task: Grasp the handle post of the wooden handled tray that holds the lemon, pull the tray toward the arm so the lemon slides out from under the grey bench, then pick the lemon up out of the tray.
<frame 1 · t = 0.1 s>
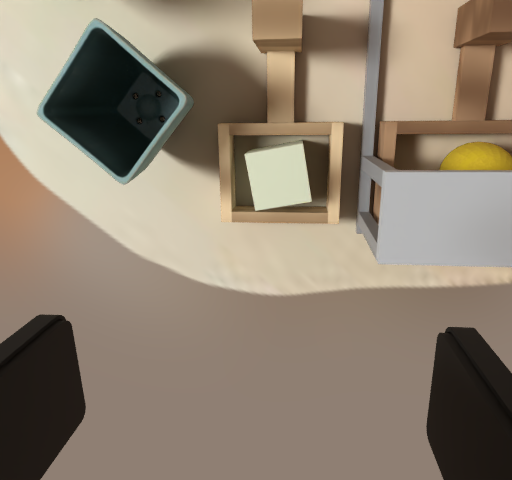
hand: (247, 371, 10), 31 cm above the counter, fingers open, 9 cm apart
flower pot: (151, 107, 39), on the counter
lemon: (457, 169, 38), resting in wooden handled tray
grey bench: (439, 189, 39), on the counter
sage cube: (280, 170, 40), resting in sled B
sled B: (279, 123, 35), point 4 cm above the counter, slide at 0.0 cm
wooden handled tray: (482, 121, 33), point 4 cm above the counter, slide at 0.0 cm
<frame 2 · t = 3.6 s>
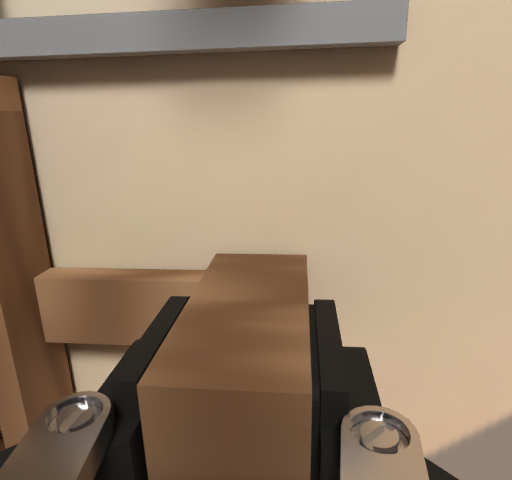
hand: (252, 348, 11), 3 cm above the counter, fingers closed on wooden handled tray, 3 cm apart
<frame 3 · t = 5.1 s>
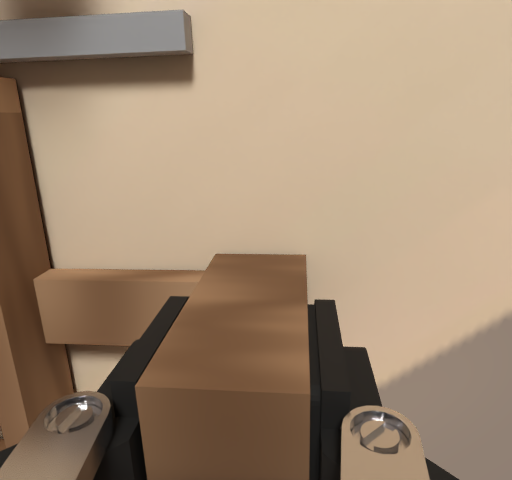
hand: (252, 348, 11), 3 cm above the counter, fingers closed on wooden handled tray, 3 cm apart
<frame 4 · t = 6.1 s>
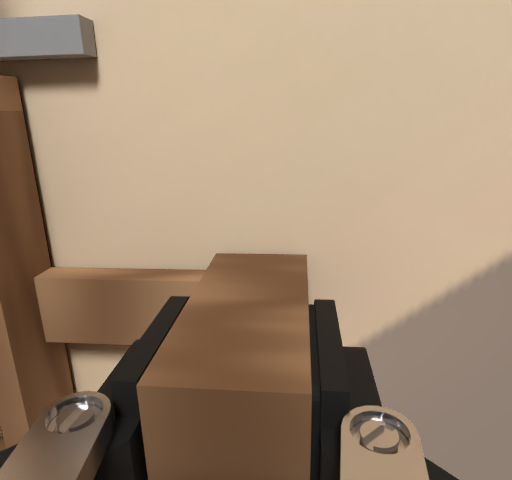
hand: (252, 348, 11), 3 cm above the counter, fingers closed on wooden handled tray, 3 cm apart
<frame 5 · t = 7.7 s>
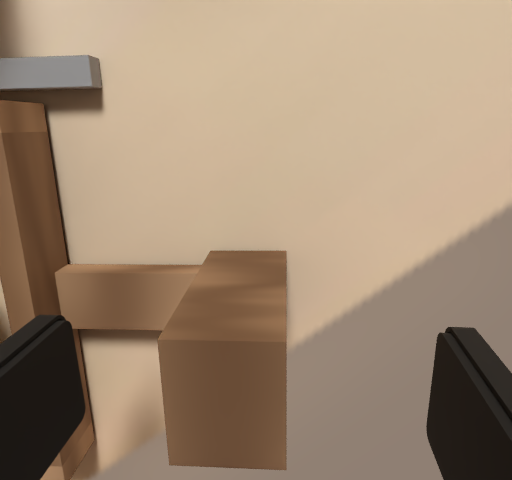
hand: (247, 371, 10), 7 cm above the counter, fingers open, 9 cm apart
wooden handled tray: (19, 331, 14), point 4 cm above the counter, slide at 9.3 cm, touching lemon
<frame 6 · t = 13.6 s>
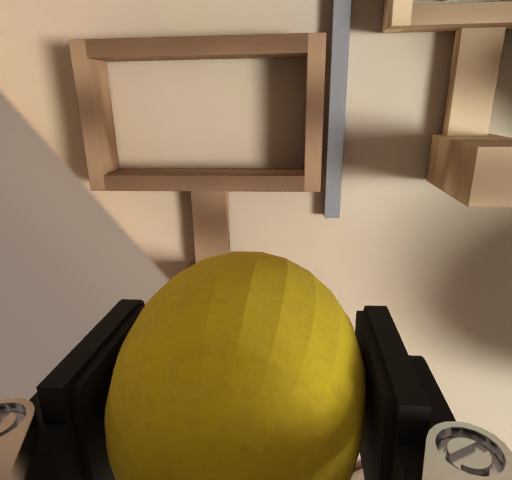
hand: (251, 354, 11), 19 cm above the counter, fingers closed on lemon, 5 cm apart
lemon: (259, 297, 13), point 16 cm above the counter, touching gripper
sled B: (505, 19, 21), point 4 cm above the counter, slide at 0.0 cm
wooden handled tray: (199, 194, 25), point 4 cm above the counter, slide at 9.2 cm
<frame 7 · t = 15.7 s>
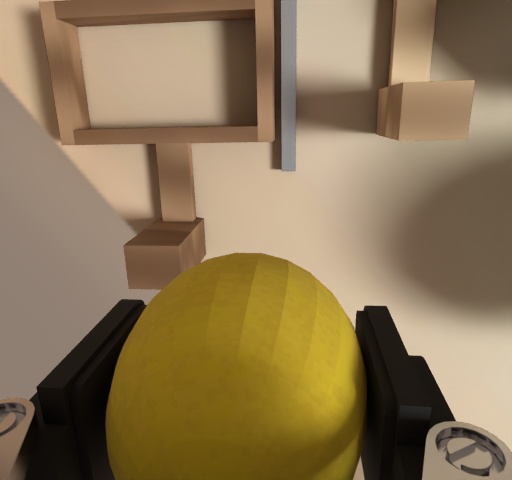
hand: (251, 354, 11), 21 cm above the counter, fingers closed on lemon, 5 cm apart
lemon: (260, 299, 13), point 19 cm above the counter, touching gripper
wooden handled tray: (160, 144, 27), point 4 cm above the counter, slide at 9.2 cm
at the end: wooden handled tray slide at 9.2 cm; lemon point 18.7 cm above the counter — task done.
